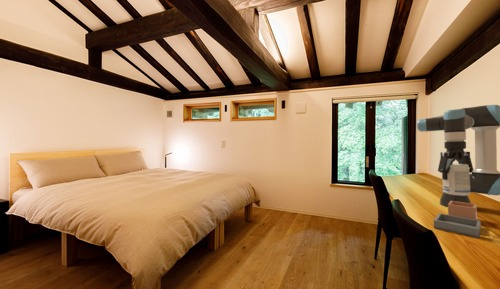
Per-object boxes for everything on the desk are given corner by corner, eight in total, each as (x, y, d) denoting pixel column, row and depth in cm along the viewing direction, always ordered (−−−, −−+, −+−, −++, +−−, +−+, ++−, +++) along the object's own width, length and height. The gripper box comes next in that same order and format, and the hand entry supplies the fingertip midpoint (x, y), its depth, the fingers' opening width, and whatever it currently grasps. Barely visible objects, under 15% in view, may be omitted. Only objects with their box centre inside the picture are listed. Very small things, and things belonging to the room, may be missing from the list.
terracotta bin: (450, 216, 116) (450, 200, 116) (477, 221, 108) (476, 204, 108) (448, 220, 110) (448, 204, 110) (475, 226, 102) (475, 208, 102)
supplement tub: (472, 194, 98) (471, 164, 98) (467, 197, 93) (467, 165, 93) (445, 190, 106) (444, 162, 106) (439, 193, 101) (439, 164, 101)
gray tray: (439, 220, 110) (439, 213, 110) (480, 228, 99) (480, 220, 99) (433, 228, 101) (433, 220, 101) (479, 238, 89) (479, 229, 89)
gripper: (465, 140, 105) (466, 183, 105) (427, 141, 102) (428, 185, 102) (483, 140, 97) (485, 186, 97) (442, 141, 95) (443, 188, 95)
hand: (456, 185), depth 100 cm, fingers closed on supplement tub, 9 cm apart
